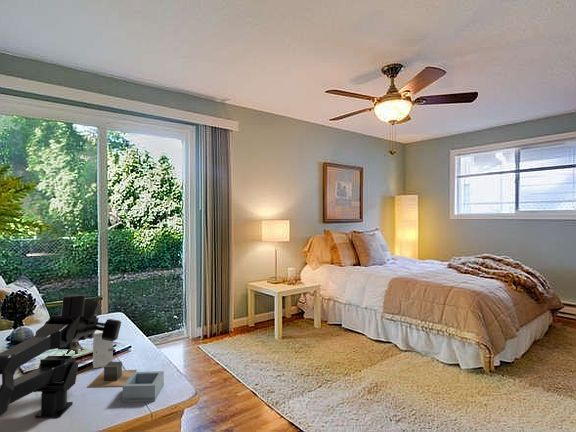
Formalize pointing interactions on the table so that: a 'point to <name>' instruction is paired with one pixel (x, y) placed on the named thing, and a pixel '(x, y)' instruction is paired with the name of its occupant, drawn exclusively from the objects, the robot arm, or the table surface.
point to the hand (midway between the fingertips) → (102, 322)
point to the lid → (112, 376)
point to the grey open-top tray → (143, 386)
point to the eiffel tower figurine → (75, 347)
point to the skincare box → (101, 350)
